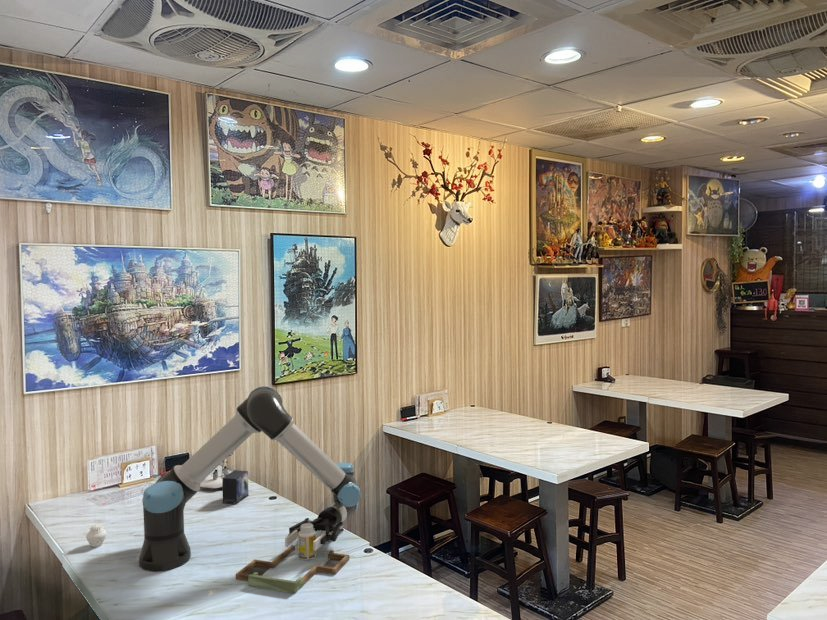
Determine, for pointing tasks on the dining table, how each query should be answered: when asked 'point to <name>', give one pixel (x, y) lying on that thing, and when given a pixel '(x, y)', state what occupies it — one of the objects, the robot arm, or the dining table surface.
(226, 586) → the dining table surface
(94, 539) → the off-white rounded lump
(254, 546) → the dining table surface
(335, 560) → the lane
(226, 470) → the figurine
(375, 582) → the dining table surface
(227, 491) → the small box
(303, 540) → the supplement bottle
